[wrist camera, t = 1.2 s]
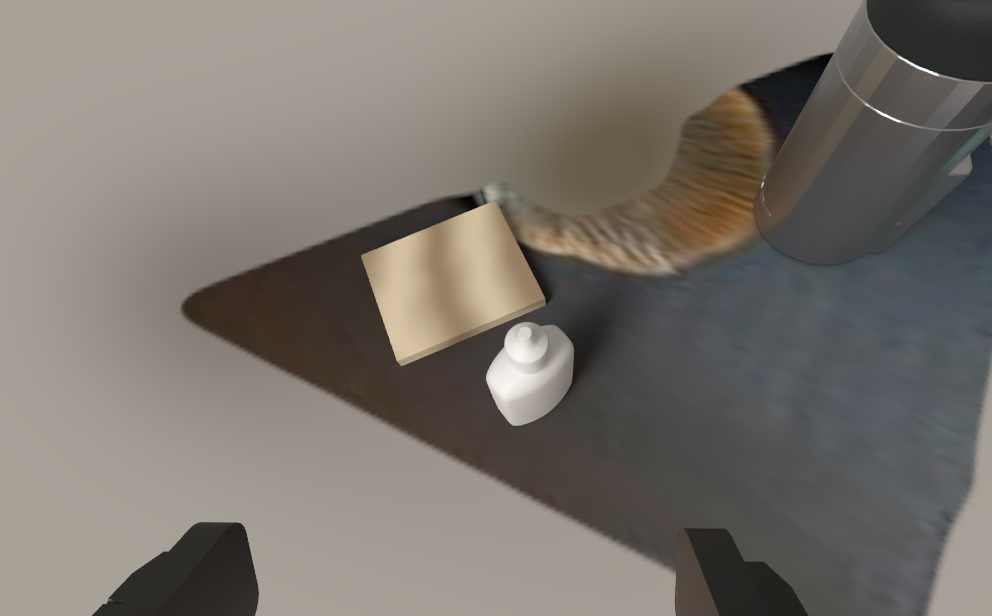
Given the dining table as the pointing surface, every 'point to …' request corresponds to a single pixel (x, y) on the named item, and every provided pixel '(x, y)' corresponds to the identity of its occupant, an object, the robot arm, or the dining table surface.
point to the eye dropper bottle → (531, 372)
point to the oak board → (451, 282)
